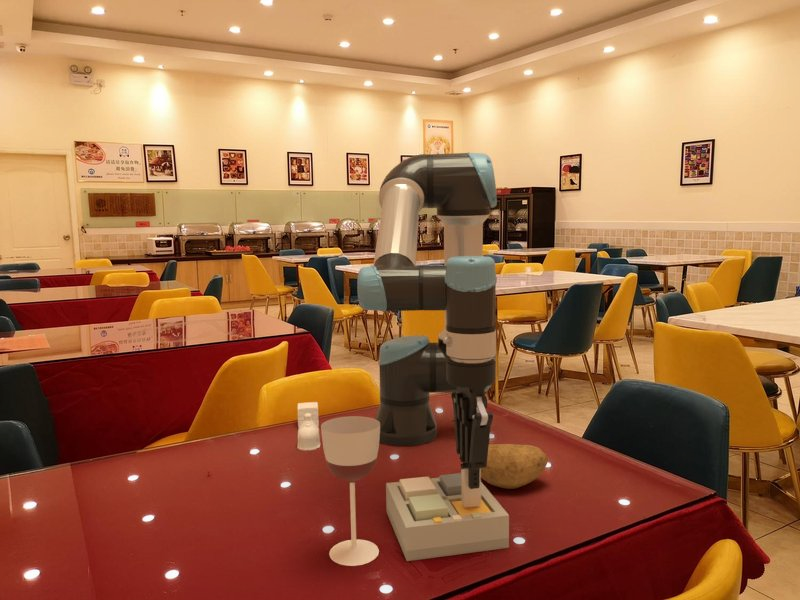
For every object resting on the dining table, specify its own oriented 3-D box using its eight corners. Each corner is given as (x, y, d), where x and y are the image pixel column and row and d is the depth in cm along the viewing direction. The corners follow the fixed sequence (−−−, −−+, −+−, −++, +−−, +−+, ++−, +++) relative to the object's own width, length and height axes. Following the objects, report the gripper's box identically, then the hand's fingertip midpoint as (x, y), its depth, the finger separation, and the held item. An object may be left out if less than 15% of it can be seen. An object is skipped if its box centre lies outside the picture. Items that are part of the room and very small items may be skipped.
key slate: (439, 489, 104) (439, 475, 103) (467, 486, 105) (467, 472, 104) (447, 502, 99) (447, 487, 98) (476, 499, 100) (476, 484, 99)
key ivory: (399, 494, 102) (399, 479, 102) (428, 490, 103) (428, 476, 103) (406, 507, 97) (406, 491, 97) (436, 503, 98) (435, 488, 98)
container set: (298, 423, 153) (297, 402, 152) (318, 422, 154) (318, 401, 153) (297, 452, 134) (296, 428, 133) (320, 450, 134) (319, 426, 134)
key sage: (408, 512, 95) (408, 497, 95) (439, 509, 96) (439, 493, 96) (416, 527, 90) (416, 511, 90) (448, 524, 92) (448, 507, 91)
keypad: (386, 511, 104) (385, 481, 103) (474, 501, 107) (474, 472, 107) (406, 561, 89) (406, 525, 88) (508, 547, 92) (509, 513, 91)
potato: (554, 495, 109) (555, 453, 108) (477, 498, 109) (477, 455, 108) (539, 473, 119) (540, 434, 118) (469, 476, 119) (469, 436, 118)
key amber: (451, 517, 97) (451, 501, 97) (480, 513, 98) (480, 498, 98) (460, 532, 92) (460, 516, 92) (491, 528, 93) (491, 512, 93)
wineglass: (326, 540, 95) (322, 417, 93) (381, 537, 96) (378, 415, 93) (324, 568, 87) (319, 435, 85) (384, 564, 88) (381, 432, 85)
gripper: (435, 350, 97) (437, 489, 100) (460, 368, 85) (460, 527, 88) (479, 347, 99) (479, 484, 102) (510, 365, 86) (509, 521, 89)
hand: (471, 504), depth 95 cm, fingers closed
